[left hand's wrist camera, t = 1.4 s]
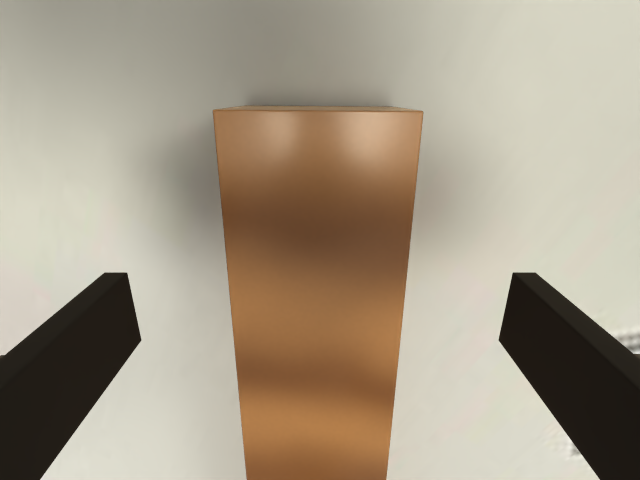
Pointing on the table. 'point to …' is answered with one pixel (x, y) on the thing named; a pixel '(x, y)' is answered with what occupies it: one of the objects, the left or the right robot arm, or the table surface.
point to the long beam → (317, 280)
